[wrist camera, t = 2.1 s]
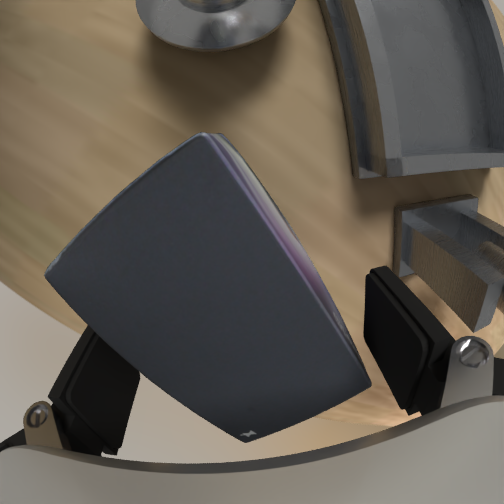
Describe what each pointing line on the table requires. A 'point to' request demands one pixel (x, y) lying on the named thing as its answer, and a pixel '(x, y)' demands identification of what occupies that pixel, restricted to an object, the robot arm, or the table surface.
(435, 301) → the table surface
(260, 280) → the small box
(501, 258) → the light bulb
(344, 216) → the table surface
